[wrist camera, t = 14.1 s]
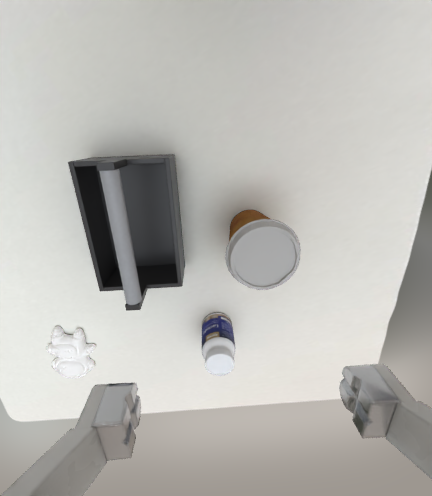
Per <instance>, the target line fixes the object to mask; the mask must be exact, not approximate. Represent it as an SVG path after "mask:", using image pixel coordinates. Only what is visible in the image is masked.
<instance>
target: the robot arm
mask: <svg viewBox="0 0 432 496" xmlns="http://www.w3.org/2000/svg"><path fill="white" fill-rule="evenodd" d="M342 374H343V376H344V379H343V380H342V381H341V382H340V388H339V389H340V395H341V398H342V401H343V403H344V405H345V407H346V408H347V409H348V410H349V411H350V412H352V413H353V422H354V424H355V425H356V427H357V429H358V431H359V433H360V435H361V436H362V438H377V437H386V439H387V440H388V441H389V442H390V443H391V444H393V445H394V446H395V447H396V448H397V449H398V450H399V451H400V452H402V453H403V454H404V455H405V456H406V457H407V458H408V459H409V460H411V461H412V462H413V463H414V464H415V465H416V466H417V467H418V468H420V469H421V470H422V471H423V472H424V473H425V474H426V475H427V476H429V477H430V478H431V479H432V408H431V407H429V406H427V405H426V404H424V403H423V402H421V401H416V400H415V399H414V398H413V397H412V396H411V395H410V393H409V392H408V391H407V390H406V388H405V387H404V386H403V385H402V384H401V382H400V381H399V380H398V379H397V378H396V376H395V375H394V374H393V373H392V372H391V370H390V369H389V368H388V367H387V366H386V365H384V364H372V365H358V366H346V367H344V369H343V372H342ZM137 390H138V388H137V384H136V383H118V384H101V385H95V386H94V387H93V388H92V390H91V393H90V395H89V397H88V399H87V402H86V404H85V406H84V409H83V411H82V413H81V415H80V418H79V420H78V423H77V425H76V427H75V429H70V430H69V431H68V432H67V433H66V434H65V435H64V436H63V437H62V438H61V439H60V440H59V441H57V442H56V443H55V444H54V445H53V446H52V447H51V448H50V449H49V450H48V451H47V452H46V453H45V454H44V455H43V456H42V457H41V458H40V459H39V460H37V461H36V462H35V463H34V464H33V465H32V466H31V467H30V468H29V469H28V470H27V471H26V472H25V473H24V474H23V475H22V476H21V477H20V478H19V479H17V480H16V481H15V482H14V483H13V484H12V485H11V486H10V487H9V488H8V489H7V490H6V491H5V492H4V493H3V494H2V495H1V496H83V495H84V493H85V492H86V491H87V489H88V488H89V487H90V485H91V484H92V482H93V481H94V479H95V478H96V477H97V475H98V474H99V473H100V471H101V470H102V468H103V467H104V466H105V464H106V463H107V461H109V460H117V459H126V458H131V457H132V453H133V448H134V444H135V439H136V437H135V432H134V430H135V429H136V427H137V426H138V425H139V420H140V413H141V401H140V397H139V396H137Z"/></svg>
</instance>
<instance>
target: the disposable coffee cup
mask: <svg viewBox="0 0 432 496" xmlns="http://www.w3.org/2000/svg"><path fill="white" fill-rule="evenodd" d="M300 251H301V250H300V243H299V240H298V237H297V235H296V234H295V232H294V231H293V230H292V229H291V228H290V227H289V226H287V225H286V224H284V223H282V222H280V221H277V220H272V219H270V218H268V217H266V216H265V215H263V214H261V213H260V212H258V211H255V210H245V211H242V212H240V213H239V214H237V215H236V216H235V217H234V218H233V220H232V222H231V225H230V236H229V243H228V245H227V250H226V264H227V267H228V270H229V271H230V273H231V274H232V276H233V277H234V278H235V279H236V280H237V281H239V282H240V283H242V284H243V285H245V286H247V287H249V288H253V289H258V290H267V289H272V288H275V287H277V286H279V285H281V284H283V283H285V282H286V281H287V280H289V278H290V277H291V276H292V275H293V274H294V272H295V271H296V269H297V267H298V264H299V260H300Z"/></svg>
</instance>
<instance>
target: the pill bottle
mask: <svg viewBox="0 0 432 496" xmlns="http://www.w3.org/2000/svg"><path fill="white" fill-rule="evenodd" d="M202 355H203V357H204V359H205V368H206V370H207V371H208V372H209V373H211V374H213V375H218V376H221V375H226V374H228V373H230V372H231V371H232V370H233V368H234V355H235V342H234V335H233V328H232V323H231V320H230V318H229V317H228V316H226V315H225V314H222V313H213V314H210V315H208V316H207V317H206V318H205V319H204V320H203V323H202Z"/></svg>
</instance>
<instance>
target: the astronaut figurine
mask: <svg viewBox="0 0 432 496" xmlns="http://www.w3.org/2000/svg"><path fill="white" fill-rule="evenodd" d="M95 347H96V345H95V344H86V342H85V335H84V332H83V330H82V329H80V328H78V329H76V330H75V332H74V335H67V334H65V333H64V331H63V329H62V328H61V327H60V326H57V327H55V328H54V330H53V332H52V335H51V343H50V344H49V345H47V347H46V350H47V351H48V352H51V353H50V354H51V355H55V356H57V358H55V359H54V360H53V362H52V368H53V369H56V371H57V372H58V373H59V374H60V375H62V376H64V377H66V378H80V377H82V376H84V375H86V374H87V373H88V372H89V370H92V369H93V368H94V366H95V362H94V360H92V359H90V358H89V356H88V355H90V354H91V353H92V352H93V351H94V349H95Z"/></svg>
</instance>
